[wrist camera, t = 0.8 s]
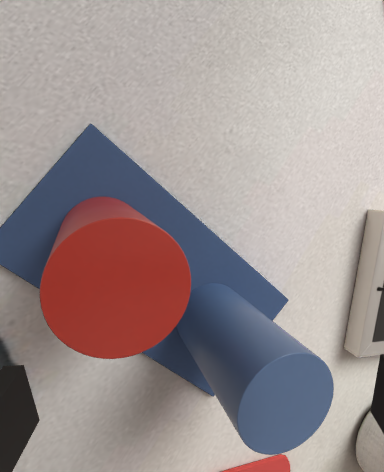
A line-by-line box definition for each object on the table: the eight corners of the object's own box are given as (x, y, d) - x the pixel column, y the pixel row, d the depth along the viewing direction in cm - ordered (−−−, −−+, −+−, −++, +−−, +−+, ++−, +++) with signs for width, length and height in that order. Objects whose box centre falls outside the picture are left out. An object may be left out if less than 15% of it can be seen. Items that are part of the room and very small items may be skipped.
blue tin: (165, 302, 28) (222, 391, 17) (229, 271, 29) (320, 332, 18) (190, 360, 30) (256, 475, 18) (249, 328, 31) (343, 416, 20)
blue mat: (-19, 250, 23) (-21, 252, 22) (90, 123, 24) (90, 123, 23) (211, 393, 32) (213, 397, 31) (285, 298, 32) (288, 300, 32)
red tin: (43, 216, 23) (8, 257, 12) (125, 183, 25) (161, 193, 14) (82, 290, 25) (82, 384, 14) (156, 256, 27) (209, 317, 15)
